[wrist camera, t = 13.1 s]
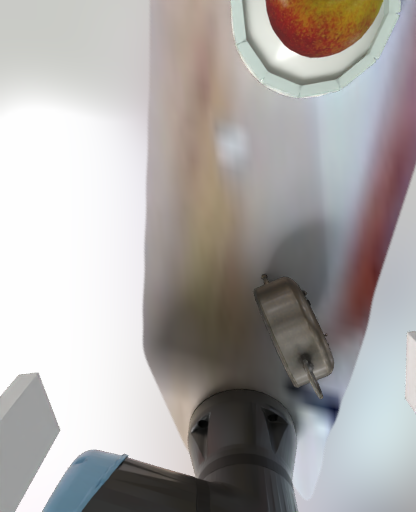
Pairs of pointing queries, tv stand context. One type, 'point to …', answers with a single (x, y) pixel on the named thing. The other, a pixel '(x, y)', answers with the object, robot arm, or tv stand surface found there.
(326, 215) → the tv stand surface
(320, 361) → the alarm clock
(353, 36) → the fruit
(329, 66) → the dish
